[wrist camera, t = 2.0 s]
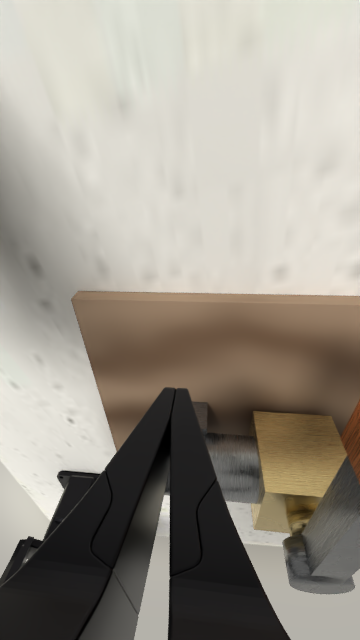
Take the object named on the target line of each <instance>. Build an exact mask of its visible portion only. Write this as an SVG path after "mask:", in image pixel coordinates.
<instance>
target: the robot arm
mask: <svg viewBox="0 0 360 640" xmlns="http://www.w3.org/2000/svg"><path fill="white" fill-rule="evenodd" d="M169 468H170V580H169V624H168V626H169V627H168V640H291V639H290V638H289V636H288V635H287V633H286V631H285V630H284V628H283V626H282V624H281V623H280V621H279V619H278V617H277V615H276V613H275V611H274V610H273V608H272V605H271V604H270V602H269V599H268V597H267V595H266V594H265V592H264V589H263V587H262V585H261V583H260V580H259V579H258V576H257V574H256V572H255V570H254V567H253V565H252V563H251V561H250V559H249V556H248V555H247V552H246V550H245V548H244V546H243V543H242V541H241V539H240V537H239V535H238V532H237V530H236V527H235V525H234V523H233V520H232V518H231V516H230V513H229V510H228V508H227V505H226V502H225V499H224V497H223V494H222V491H221V488H220V485H219V482H218V481H217V476H216V473H215V470H214V467H213V464H212V461H211V458H210V455H209V452H208V449H207V445H206V442H205V439H204V436H203V433H202V430H201V427H200V424H199V421H198V418H197V415H196V412H195V409H194V406H193V403H192V400H191V397H190V394H189V391H188V389H187V388H177V389H176V388H173V387H165V388H164V389H163V390H162V391H161V393H160V394H159V395H158V397H157V398H156V399H155V401H154V402H153V403H152V405H151V406H150V408H149V409H148V410H147V412H146V413H145V414H144V416H143V417H142V418H141V420H140V421H139V423H138V424H137V425H136V427H135V428H134V429H133V431H132V432H131V434H130V435H129V436H128V438H127V439H126V440H125V442H124V443H123V444H122V446H121V447H120V449H119V450H118V451H117V453H116V454H115V455H114V457H113V458H112V459H111V461H110V462H109V464H108V465H107V466H106V468H105V471H103V472H102V473H101V474H100V475H94V474H83V473H73V472H62V471H61V472H59V473H58V475H57V478H58V480H59V481H60V483H61V485H62V486H63V488H64V491H63V494H62V496H61V499H60V501H59V503H58V506H57V508H56V510H55V513H54V515H53V517H52V520H51V522H50V524H49V527H48V529H47V531H46V534H45V536H44V539H43V541H40V540H37V539H34V537H30V536H29V537H28V538H27V539H26V540H20V541H19V543H18V545H17V547H16V549H15V551H14V553H13V556H12V558H11V560H10V562H9V563H8V565H7V567H6V569H5V571H4V573H3V575H2V577H1V578H0V640H134V636H135V631H136V626H137V621H138V614H139V611H140V606H141V602H142V597H143V592H144V587H145V583H146V577H147V572H148V568H149V564H150V558H151V554H152V549H153V544H154V540H155V535H156V530H157V525H158V521H159V516H160V511H161V506H162V501H163V497H164V492H165V487H166V482H167V478H168V473H169ZM26 559H28V561H27V562H26ZM25 562H26V563H25Z"/></svg>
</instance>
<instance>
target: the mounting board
mask: <svg viewBox="0 0 360 640" xmlns="http://www.w3.org/2000/svg"><path fill="white" fill-rule="evenodd" d="M71 301H72V304H73V307H74V311H75V314H76V317H77V321H78V324H79V327H80V331H81V334H82V337H83V341H84V344H85V347H86V351H87V354H88V357H89V360H90V364H91V367H92V370H93V374H94V377H95V380H96V384H97V387H98V390H99V394H100V397H101V400H102V404H103V407H104V410H105V414H106V417H107V420H108V424H109V427H110V430H111V434H112V437H113V440H114V444H115V447H116V450H117V451H118V450H119V449H120V447H121V446H122V444H123V443H124V442H125V440H126V439H127V438H128V436H129V435H130V434H131V432H132V431H133V429H134V428H135V427H136V425H137V424H138V423H139V421H140V420H141V418H142V417H143V416H144V414H145V413H146V412H147V410H148V409H149V408H150V406H151V405H152V403H153V402H154V401H155V399H156V398H157V397H158V395H159V394H160V393H161V391H162V390H163V389H164V388H165V387H173V388H176V389H177V388H187V389H188V391H189V394H190V397H191V400H192V401H194V402H208V403H207V433H220V434H234V435H248V436H249V431H250V426H251V420H252V415H253V411H260V412H276V413H292V414H308V415H324V416H331V417H332V419H333V421H334V424H335V426H336V428H337V431H338V433H339V435H340V436H341V434H342V432H343V430H344V429H345V427H346V425H347V423H348V421H349V419H350V417H351V415H352V413H353V411H354V409H355V407H356V405H357V403H358V401H359V399H360V296H321V295H265V294H209V293H153V292H97V291H78V292H77V293H76V294H75V295H74V296H73V297H72V299H71Z"/></svg>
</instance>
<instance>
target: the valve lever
mask: <svg viewBox="0 0 360 640" xmlns="http://www.w3.org/2000/svg"><path fill="white" fill-rule="evenodd" d="M340 439H341V442H342V444H343V446H344V449H345V451H346V453H347V456H346V458H345V459H344V461H343V463H342V465H341V466H340V468H339V470H338V472H337V473H336V475H335V477H334V479H333V480H332V482H331V484H330V485H329V487H328V489H327V491H326V492H325V494H324V496H323V498H322V499H321V501H320V503H319V504H318V506H317V508H316V510H315V511H314V513H313V515H312V517H311V518H310V520H309V522H308V523H307V525H306V527H305V529H304V530H303V532H302V534H300V535H294V536H291V537H288V538H286V539H285V540H284V541H283V550H284V555H285V561H286V567H287V573H288V578H289V584H290V585H291V586H292V587H293V588H295V589H297V590H300V591H304V592H310V593H316V594H339V593H346V592H349V591H352V590H353V589H354V588H355V585H354V582H353V579H352V575H353V574H354V573H355V572H356V571H357V570H358V569H359V568H360V399H359V401H358V403H357V405H356V407H355V409H354V411H353V413H352V415H351V417H350V419H349V421H348V423H347V425H346V427H345V429H344V430H343V432H342V434H341V436H340Z"/></svg>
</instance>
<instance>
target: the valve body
mask: <svg viewBox="0 0 360 640" xmlns="http://www.w3.org/2000/svg"><path fill="white" fill-rule="evenodd" d="M192 403H193V406H194V409H195V412H196V415H197V418H198V421H199V424H200V427H201V430H202V433H203V436H204V439H205V442H206V445H207V449H208V452H209V455H210V458H211V461H212V464H213V467H214V470H215V473H216V476H217V481H218V482H219V485H220V488H221V491H222V494H223V497H224V499H225V501H232V502H242V503H251V508H252V518H253V527H254V530H264V531H273V532H282V533H290V537H291V536H294V535H300V534H302V532H303V530H304V529H305V527H306V525H307V523H308V522H309V520H310V518H311V517H312V515H313V513H314V511H315V510H316V508H317V506H318V504H319V503H320V501H321V499H322V498H323V496H324V494H325V492H326V491H327V489H328V487H329V485H330V484H331V482H332V480H333V479H334V477H335V475H336V473H337V472H338V470H339V468H340V466H341V465H342V463H343V461H344V459H345V458H346V456H347V453H346V451H345V449H344V446H343V444H342V442H341V439H340V435H339V433H338V431H337V428H336V426H335V424H334V421H333V419H332V417H331V416H324V415H308V414H292V413H276V412H260V411H253V415H252V420H251V426H250V431H249V436H248V435H234V434H220V433H207V403H208V402H194V401H192ZM164 495H170V468H169V473H168V478H167V482H166V487H165V492H164Z"/></svg>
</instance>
